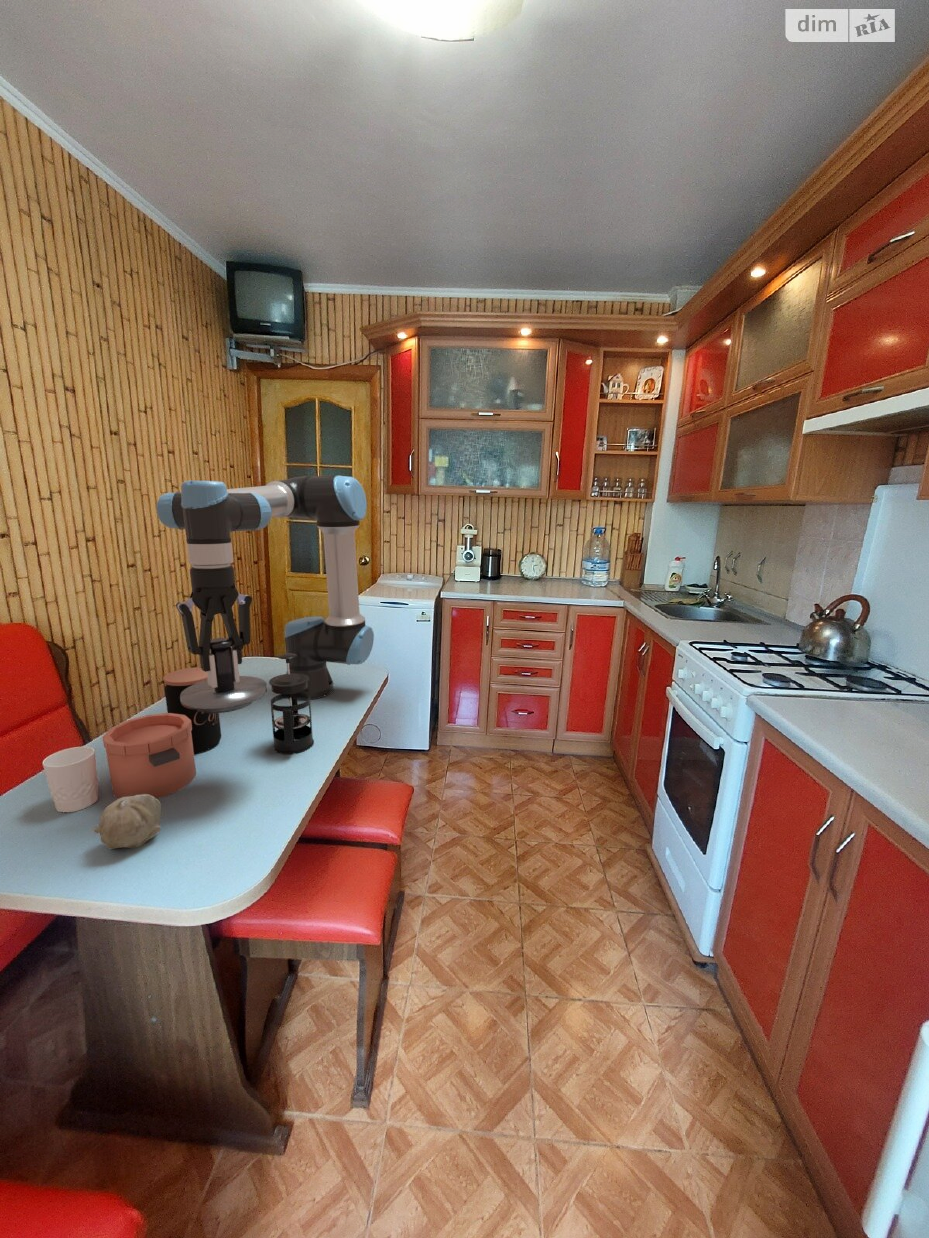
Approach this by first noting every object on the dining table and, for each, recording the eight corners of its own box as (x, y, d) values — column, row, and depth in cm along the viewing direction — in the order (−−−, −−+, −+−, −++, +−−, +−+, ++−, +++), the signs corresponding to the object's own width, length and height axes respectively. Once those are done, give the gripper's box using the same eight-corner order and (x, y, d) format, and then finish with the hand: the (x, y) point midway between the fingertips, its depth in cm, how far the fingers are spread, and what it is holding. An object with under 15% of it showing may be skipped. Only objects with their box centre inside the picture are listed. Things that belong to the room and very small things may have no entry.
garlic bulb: (163, 842, 90) (179, 791, 90) (134, 868, 82) (151, 812, 81) (112, 827, 90) (127, 775, 89) (77, 851, 81) (94, 794, 81)
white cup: (74, 790, 101) (65, 745, 99) (112, 791, 101) (104, 746, 99) (40, 814, 94) (30, 766, 91) (81, 815, 94) (72, 767, 91)
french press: (277, 736, 126) (270, 649, 121) (316, 733, 128) (310, 647, 122) (268, 759, 115) (260, 664, 109) (311, 756, 116) (305, 662, 111)
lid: (247, 682, 111) (242, 627, 108) (281, 702, 101) (276, 641, 98) (170, 702, 100) (162, 640, 97) (199, 726, 90) (191, 658, 87)
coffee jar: (201, 757, 115) (192, 684, 111) (161, 752, 117) (151, 680, 113) (231, 737, 125) (224, 668, 121) (194, 732, 127) (186, 665, 123)
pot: (101, 775, 107) (92, 723, 104) (177, 751, 118) (171, 703, 115) (128, 818, 93) (118, 759, 90) (212, 786, 104) (206, 733, 101)
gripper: (247, 560, 102) (256, 669, 108) (155, 567, 91) (171, 688, 96) (263, 563, 97) (272, 677, 103) (169, 571, 86) (185, 699, 91)
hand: (224, 682), depth 99 cm, fingers closed on lid, 4 cm apart
